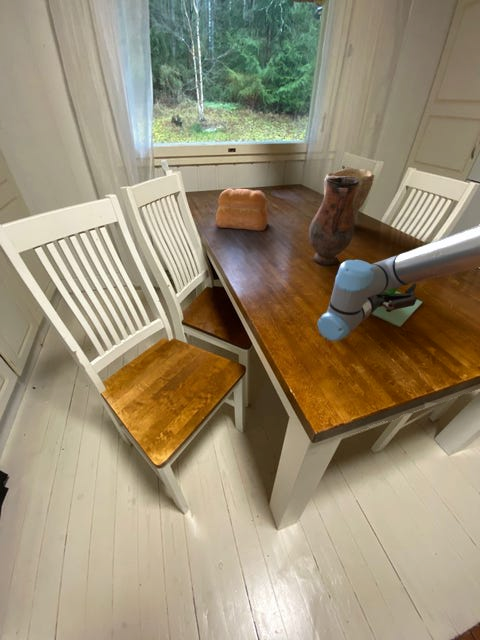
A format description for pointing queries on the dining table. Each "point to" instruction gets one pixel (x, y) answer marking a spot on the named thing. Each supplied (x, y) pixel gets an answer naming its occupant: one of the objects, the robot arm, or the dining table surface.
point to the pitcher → (333, 221)
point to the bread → (242, 210)
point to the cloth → (396, 313)
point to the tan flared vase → (363, 186)
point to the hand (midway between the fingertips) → (391, 279)
